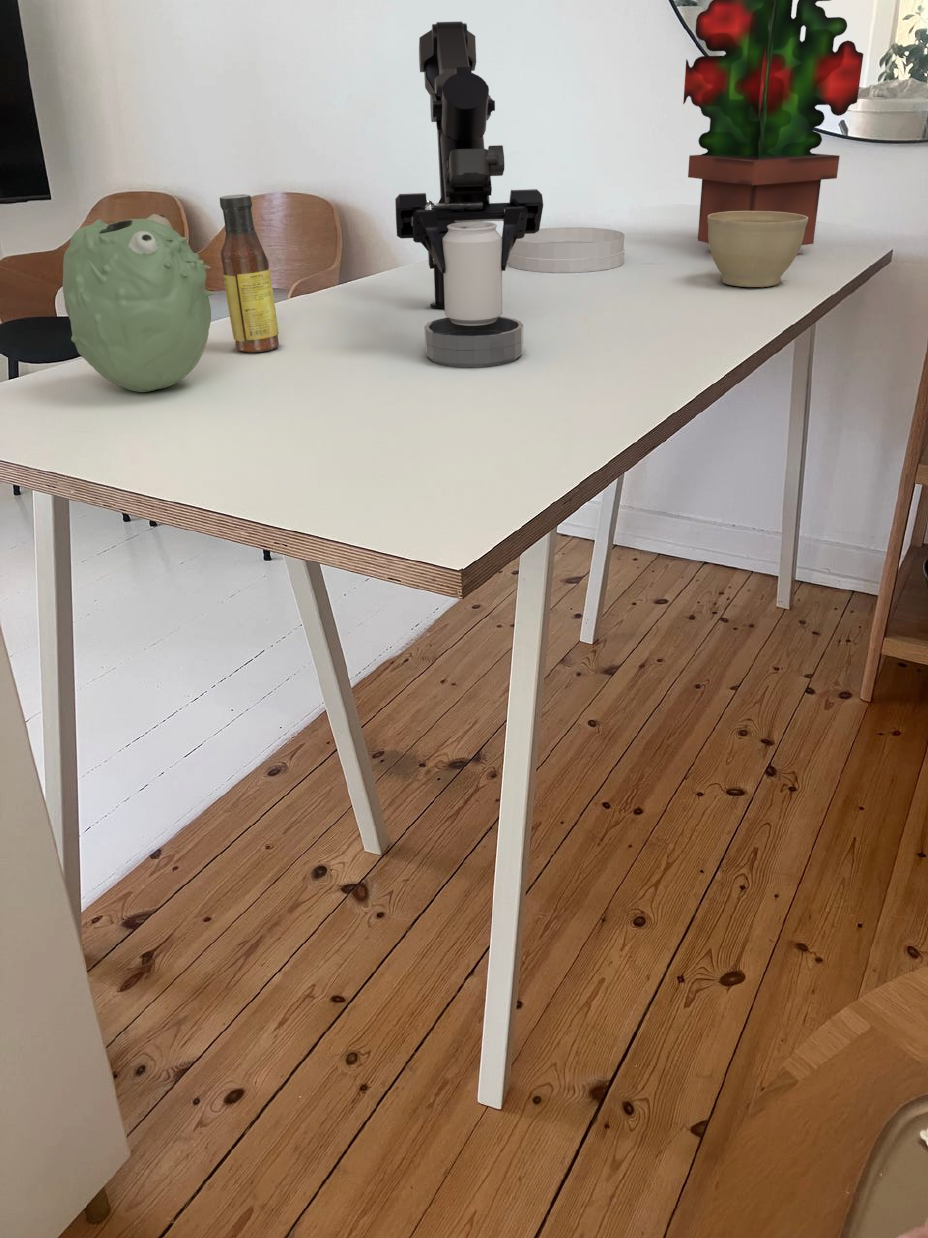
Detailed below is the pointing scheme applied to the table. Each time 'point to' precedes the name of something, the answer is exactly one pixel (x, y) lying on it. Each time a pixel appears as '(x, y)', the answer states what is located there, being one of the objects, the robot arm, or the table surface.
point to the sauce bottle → (247, 279)
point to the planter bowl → (754, 245)
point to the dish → (568, 250)
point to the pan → (474, 342)
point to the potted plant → (767, 105)
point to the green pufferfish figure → (136, 301)
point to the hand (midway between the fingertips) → (473, 269)
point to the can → (472, 273)
